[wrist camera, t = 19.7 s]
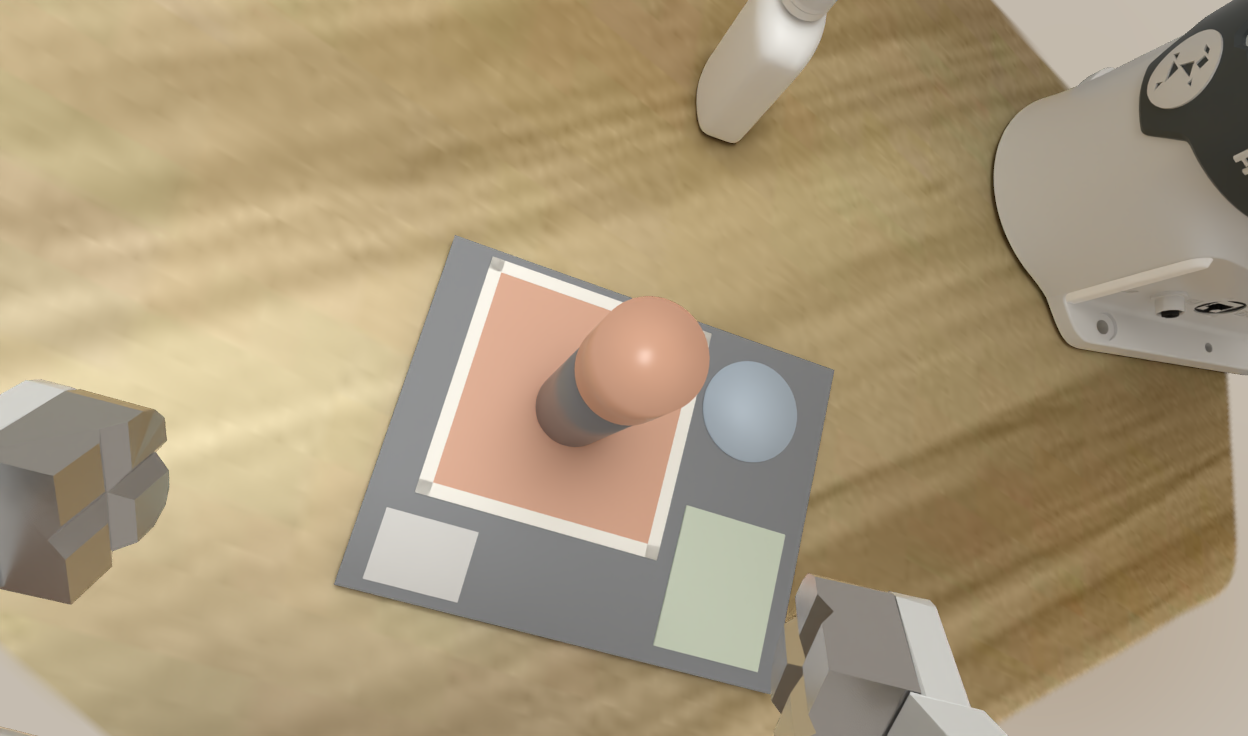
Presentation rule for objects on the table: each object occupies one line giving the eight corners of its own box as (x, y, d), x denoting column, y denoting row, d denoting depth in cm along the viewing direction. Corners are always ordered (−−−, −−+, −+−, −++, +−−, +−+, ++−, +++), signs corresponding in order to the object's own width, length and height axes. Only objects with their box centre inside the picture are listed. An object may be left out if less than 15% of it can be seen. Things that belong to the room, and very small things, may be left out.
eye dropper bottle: (783, 96, 44) (919, -54, 33) (723, 157, 42) (844, 22, 31) (727, 39, 44) (845, -131, 32) (664, 98, 42) (765, -60, 31)
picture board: (826, 372, 41) (835, 369, 41) (762, 691, 37) (771, 694, 36) (453, 241, 37) (455, 234, 36) (335, 582, 33) (333, 584, 32)
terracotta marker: (623, 380, 37) (720, 317, 26) (602, 459, 36) (695, 428, 25) (546, 356, 36) (611, 280, 25) (523, 435, 35) (580, 393, 24)
